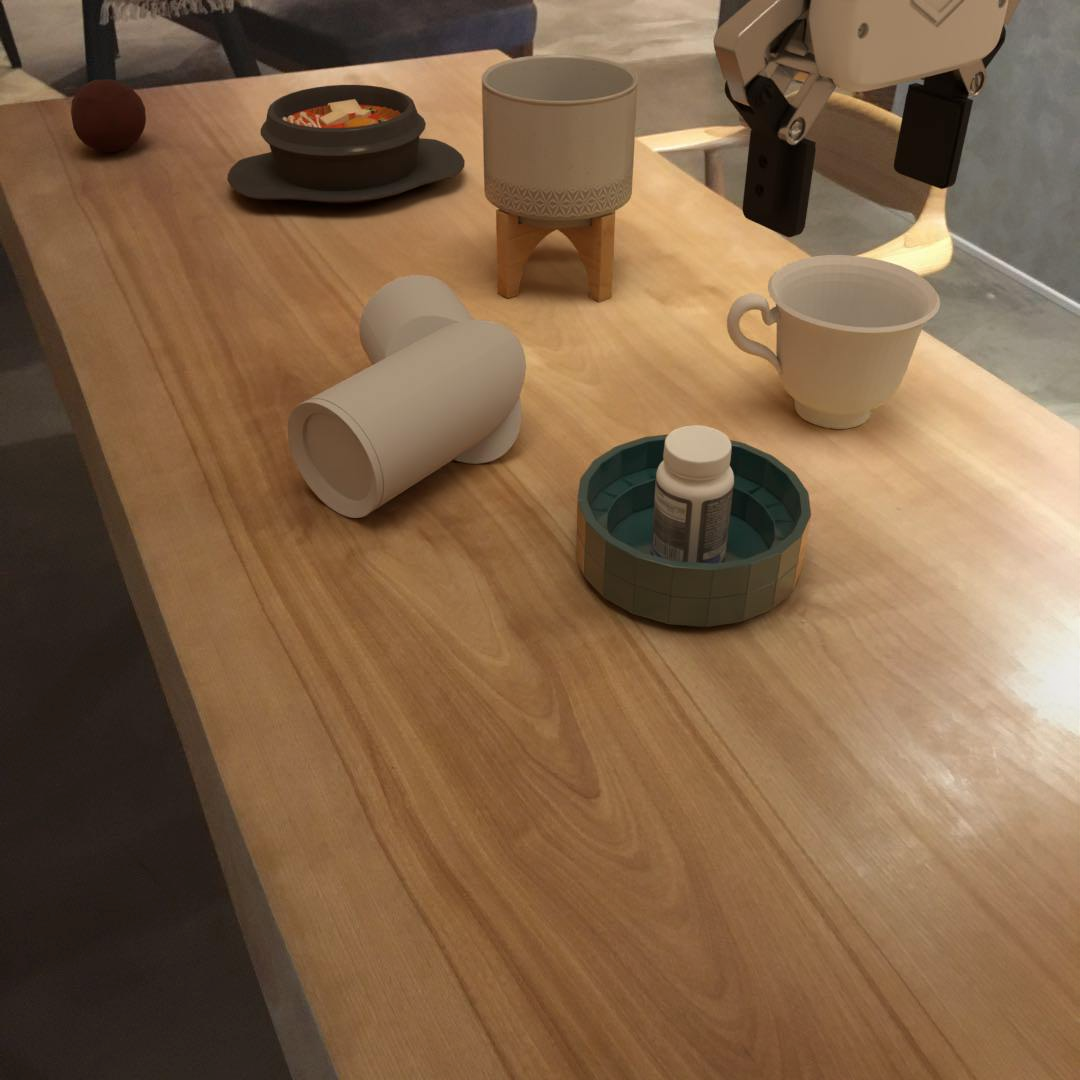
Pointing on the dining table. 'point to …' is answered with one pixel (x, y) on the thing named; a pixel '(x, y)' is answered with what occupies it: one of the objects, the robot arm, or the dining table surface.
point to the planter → (558, 158)
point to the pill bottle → (693, 496)
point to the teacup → (839, 333)
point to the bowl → (689, 587)
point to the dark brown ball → (108, 115)
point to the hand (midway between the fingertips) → (850, 201)
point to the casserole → (343, 148)
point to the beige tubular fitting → (410, 399)
